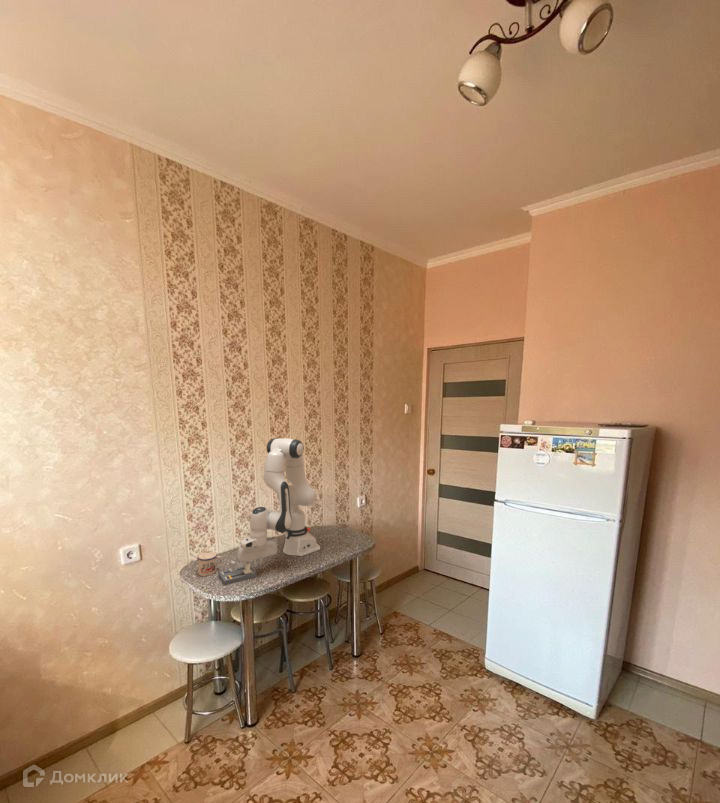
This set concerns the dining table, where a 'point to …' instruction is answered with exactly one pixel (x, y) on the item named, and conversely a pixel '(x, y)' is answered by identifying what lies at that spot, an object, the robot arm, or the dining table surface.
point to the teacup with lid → (207, 563)
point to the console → (235, 574)
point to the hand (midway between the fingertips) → (257, 566)
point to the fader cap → (247, 568)
